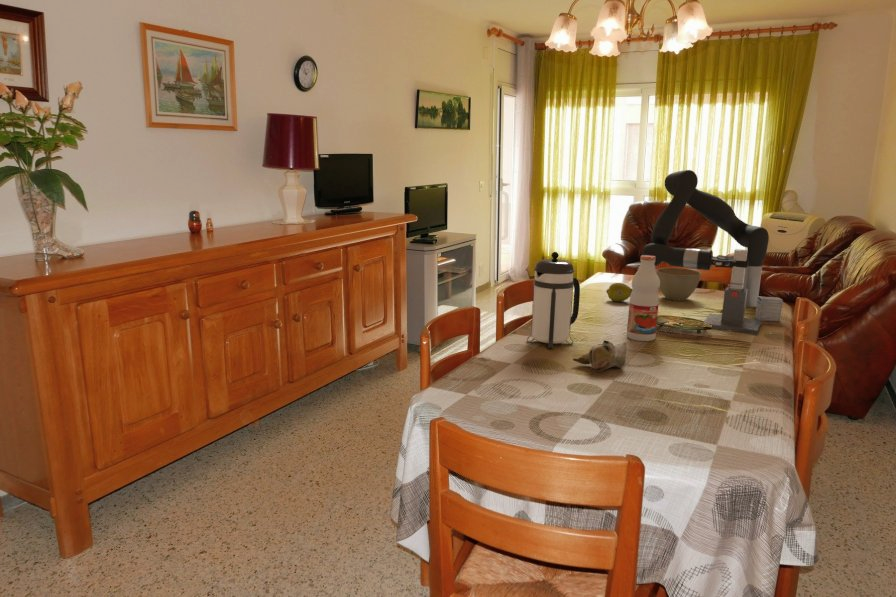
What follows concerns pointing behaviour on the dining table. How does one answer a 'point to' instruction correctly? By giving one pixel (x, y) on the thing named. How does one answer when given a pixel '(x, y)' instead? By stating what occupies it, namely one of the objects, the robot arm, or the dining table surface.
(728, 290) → the stand
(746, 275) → the robot arm
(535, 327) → the coffee press
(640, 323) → the fruit juice
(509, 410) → the dining table surface
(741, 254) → the column
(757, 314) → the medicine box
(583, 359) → the ceramic sculpture
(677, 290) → the beige bowl
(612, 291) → the lemon
